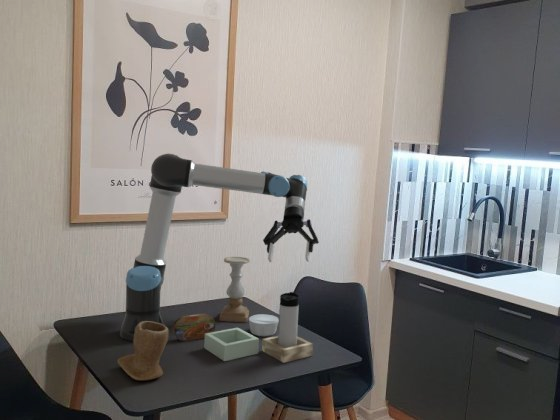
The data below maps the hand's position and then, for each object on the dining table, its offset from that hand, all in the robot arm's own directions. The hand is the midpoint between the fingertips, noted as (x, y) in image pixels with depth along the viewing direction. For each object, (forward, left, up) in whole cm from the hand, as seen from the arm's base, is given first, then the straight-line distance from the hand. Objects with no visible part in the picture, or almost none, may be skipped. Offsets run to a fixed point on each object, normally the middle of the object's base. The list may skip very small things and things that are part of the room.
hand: (288, 260), depth 183 cm
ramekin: (-3, +10, -29) cm, 31 cm away
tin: (-28, +17, -29) cm, 43 cm away
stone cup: (-53, -2, -29) cm, 61 cm away
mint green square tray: (-23, 0, -29) cm, 37 cm away
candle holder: (-3, +30, -29) cm, 42 cm away
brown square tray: (-8, -11, -29) cm, 32 cm away
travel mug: (-8, -11, -29) cm, 32 cm away
